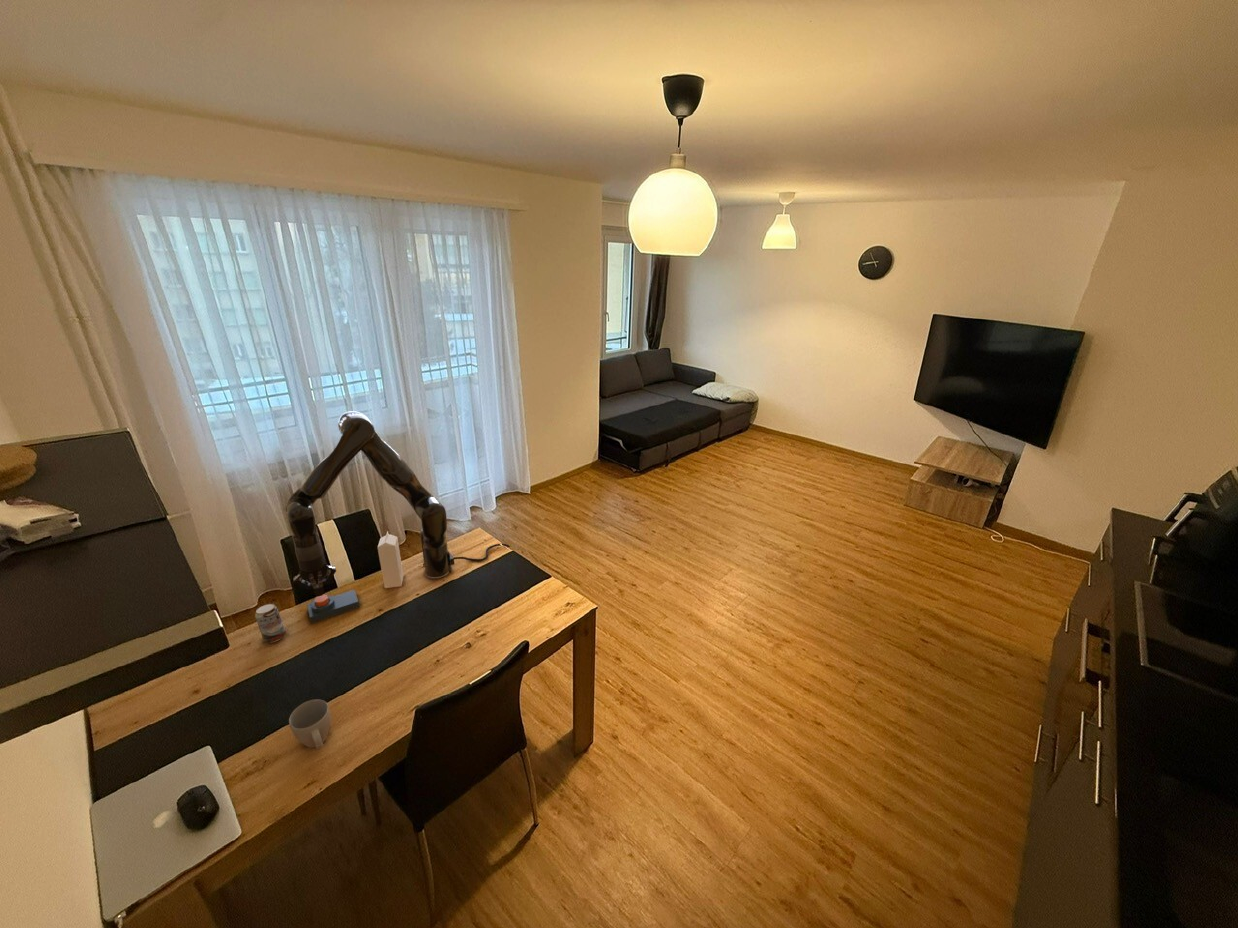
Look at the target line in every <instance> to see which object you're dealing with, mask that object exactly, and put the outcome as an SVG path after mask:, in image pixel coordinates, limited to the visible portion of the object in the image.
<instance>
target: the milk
mask: <svg viewBox="0 0 1238 928" xmlns="http://www.w3.org/2000/svg"><path fill="white" fill-rule="evenodd" d="M377 552H378V558H379V565H380V570H381V575H382V581H383V587H384V589H388V588H389V589H390V588H391V589H392V588H400V587H402V585H403V582H404V581H403V580H404V570H403V564H402V559H401V551H400V545H399V539H398V536H396V535H393V534H391V533H389V530H387V531H386V534H385V535H383V536H382V537H380V538H379V541H378V545H377Z"/></svg>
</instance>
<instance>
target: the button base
mask: <svg viewBox="0 0 1238 928" xmlns="http://www.w3.org/2000/svg"><path fill="white" fill-rule="evenodd" d="M327 596H328V599H329V603H328V604H326V605H325V606H322V607H317V606H316V604H315V599H313V600H312V601H311V602H310V603H308V604H306V608H307V611H308V616H309V620H310V623H311V624H314V623H317V622H320V621H323V620H326V619H327V618H328V619H329V618H331V617H335V616H337V615H341V614H344V613H347V612H349V611H351V610H356V609H358V608H360V602H359V599H358V596H357V593H356V591H355V589H352V590H348V591H346V592H342V593H339V594H336V595H333V596H331V595H327Z"/></svg>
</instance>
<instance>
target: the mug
mask: <svg viewBox="0 0 1238 928" xmlns="http://www.w3.org/2000/svg"><path fill="white" fill-rule="evenodd" d="M331 719H332V718H331V710H330V707H329V704H328V703H327V701H325V700H323V699H319V698H315V699H314V698H313V699H310V700H307V701H304V702H302V703H301V704H299V705H298V706H297V707H296V708H295V709H293V711H292V712H291V713H290V716H289V718H288V725H289V728H290V731H291V733H292V734H293V736H294V738H295V739H296V740H297V741H298V742H299V743H300V744H302V745H303V746H305V747H307V748H315V750H317V751H319V750H321V749H323V747H324V742H325V741H326V740H327V738H328V735H329V732H330V728H331Z"/></svg>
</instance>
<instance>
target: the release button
mask: <svg viewBox="0 0 1238 928" xmlns="http://www.w3.org/2000/svg"><path fill="white" fill-rule="evenodd" d="M328 596H329V595H328V594H322V596H319V597H318V596H315V598H314V600H315V604H316V606H317V607H322V606H325V605H326V604H328V603H329V599H328Z"/></svg>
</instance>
